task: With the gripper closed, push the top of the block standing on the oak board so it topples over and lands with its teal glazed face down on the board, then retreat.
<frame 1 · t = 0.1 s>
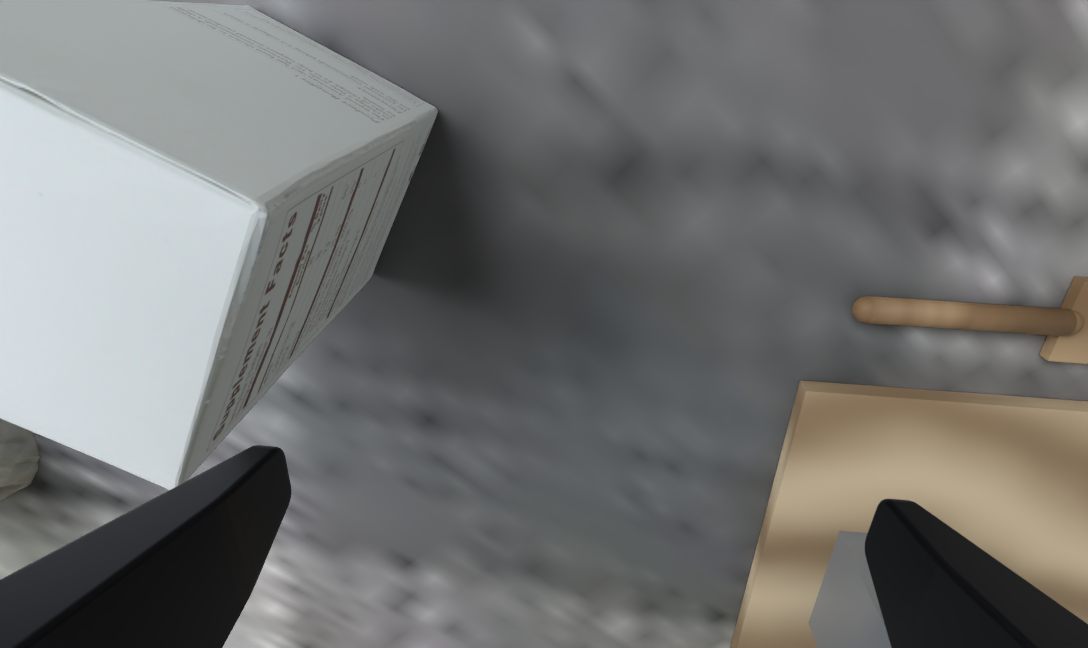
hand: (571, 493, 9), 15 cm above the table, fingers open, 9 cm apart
block: (845, 580, 28), point 1 cm above the table, touching board
supplement box: (319, 152, 22), on the table
board: (933, 559, 28), on the table
turner: (1013, 313, 22), on the table
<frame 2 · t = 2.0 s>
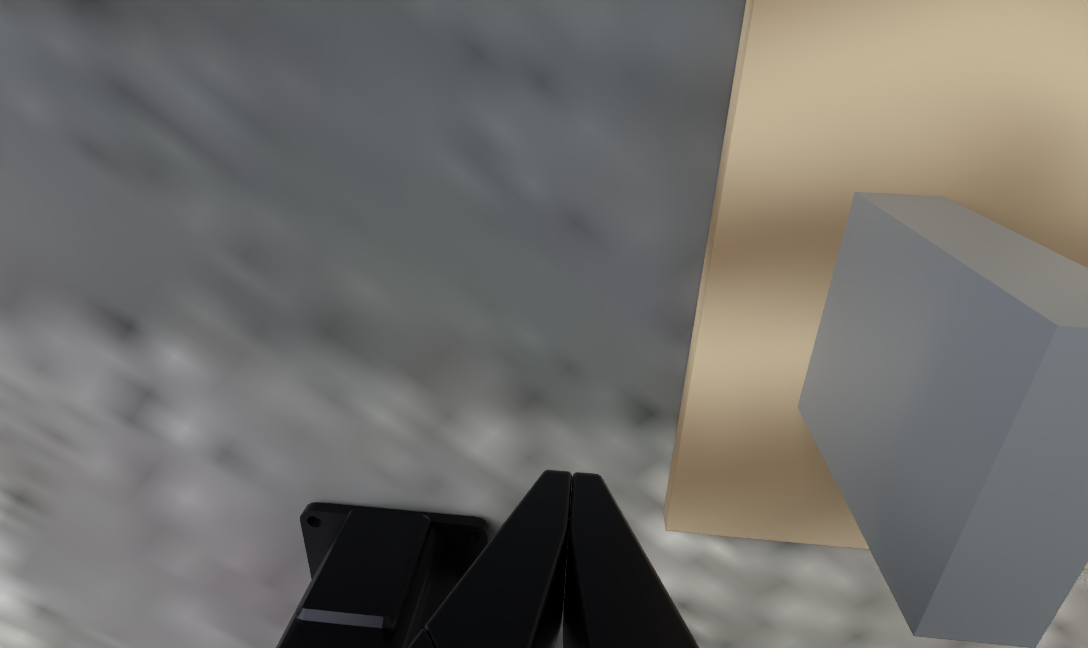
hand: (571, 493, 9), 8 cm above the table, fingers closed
block: (864, 311, 15), point 1 cm above the table, touching board
board: (1025, 273, 15), on the table
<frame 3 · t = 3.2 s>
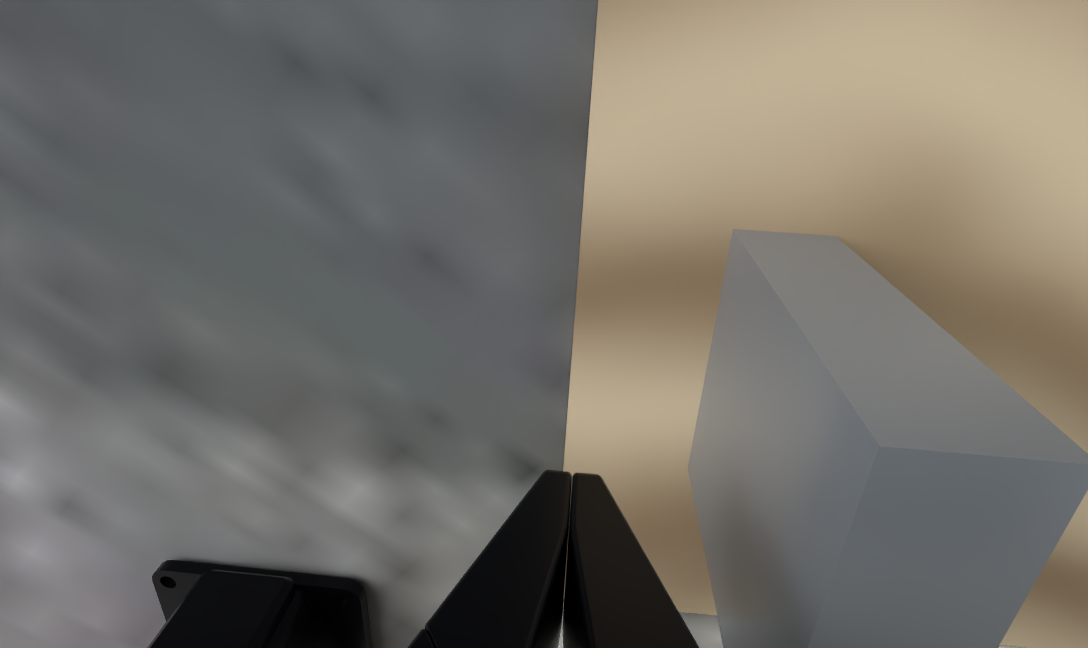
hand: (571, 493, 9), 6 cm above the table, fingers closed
block: (753, 364, 13), point 1 cm above the table, touching board
board: (938, 321, 13), on the table
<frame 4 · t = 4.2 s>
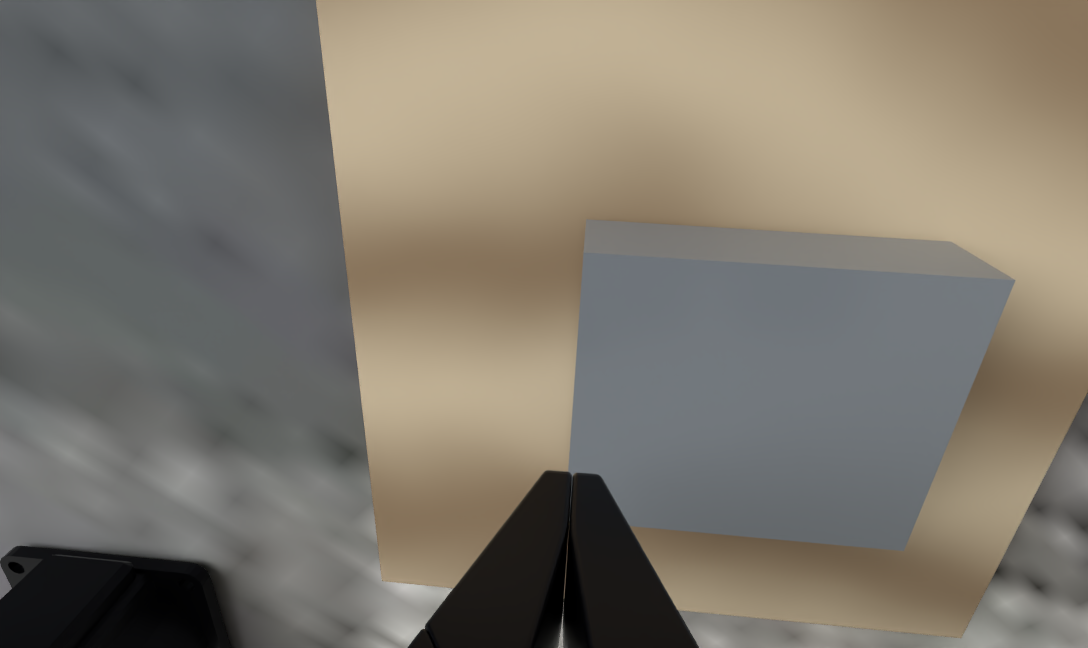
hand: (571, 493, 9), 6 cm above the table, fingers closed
block: (575, 374, 12), point 2 cm above the table, tilted 90°, touching board
board: (710, 302, 13), on the table
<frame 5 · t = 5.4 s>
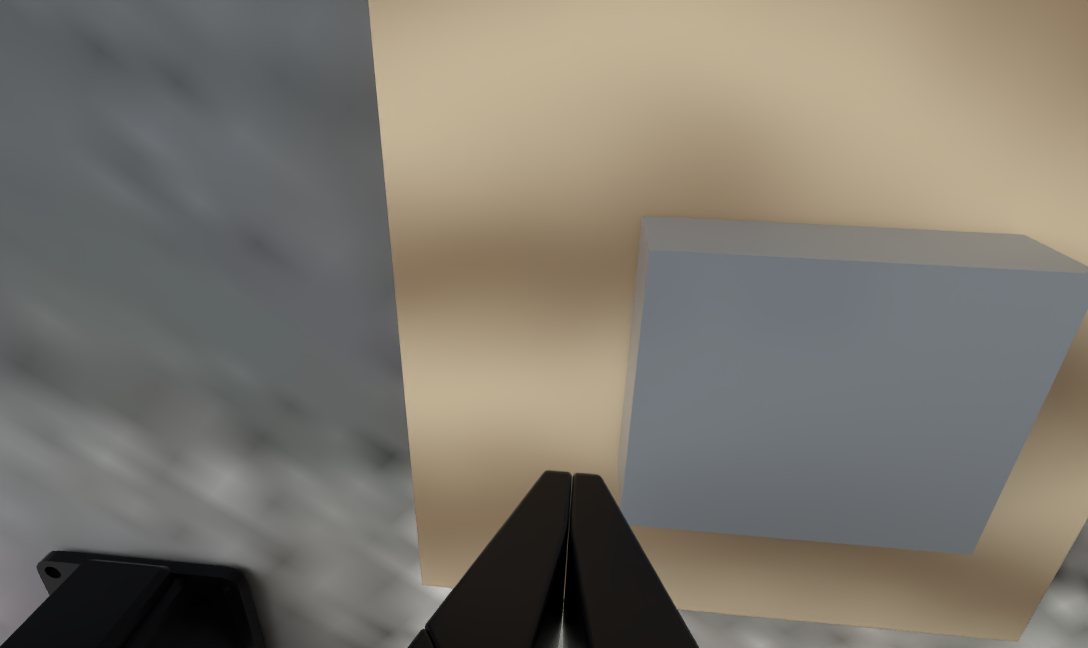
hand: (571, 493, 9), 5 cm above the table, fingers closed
block: (630, 375, 12), point 2 cm above the table, tilted 90°, touching board
board: (764, 299, 13), on the table
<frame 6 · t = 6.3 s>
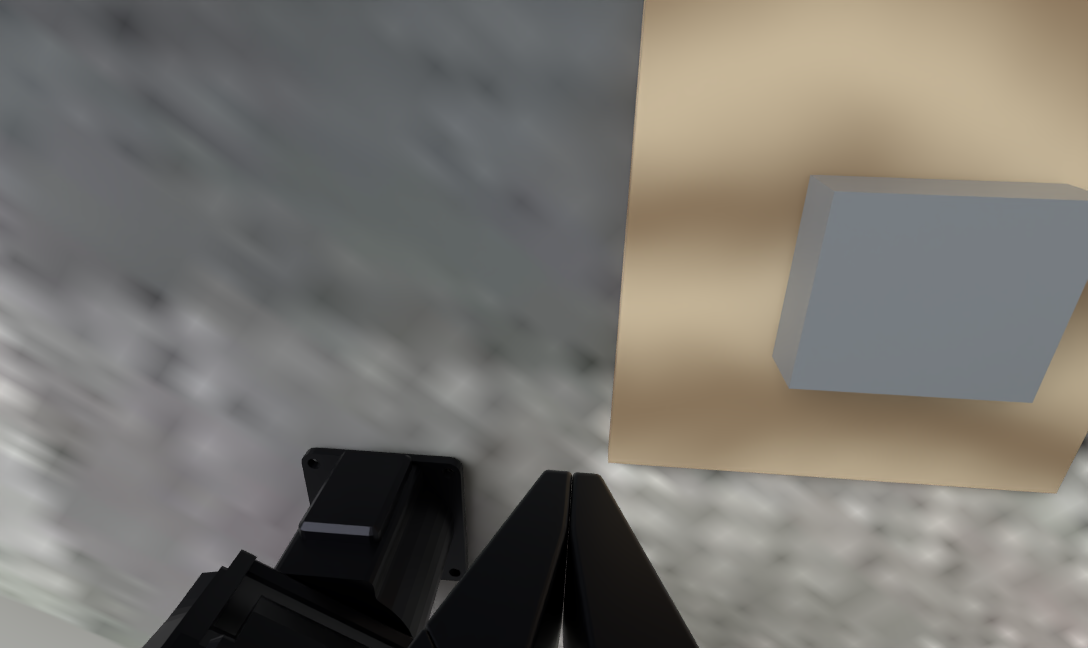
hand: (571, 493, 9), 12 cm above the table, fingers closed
block: (799, 284, 18), point 2 cm above the table, tilted 90°, touching board
board: (882, 235, 19), on the table
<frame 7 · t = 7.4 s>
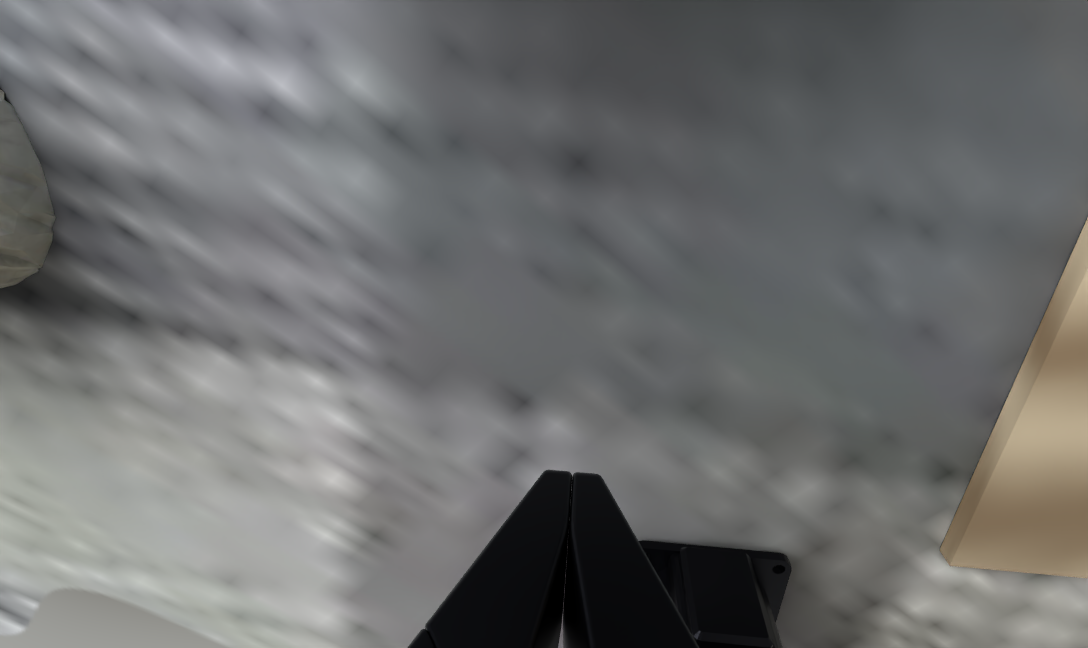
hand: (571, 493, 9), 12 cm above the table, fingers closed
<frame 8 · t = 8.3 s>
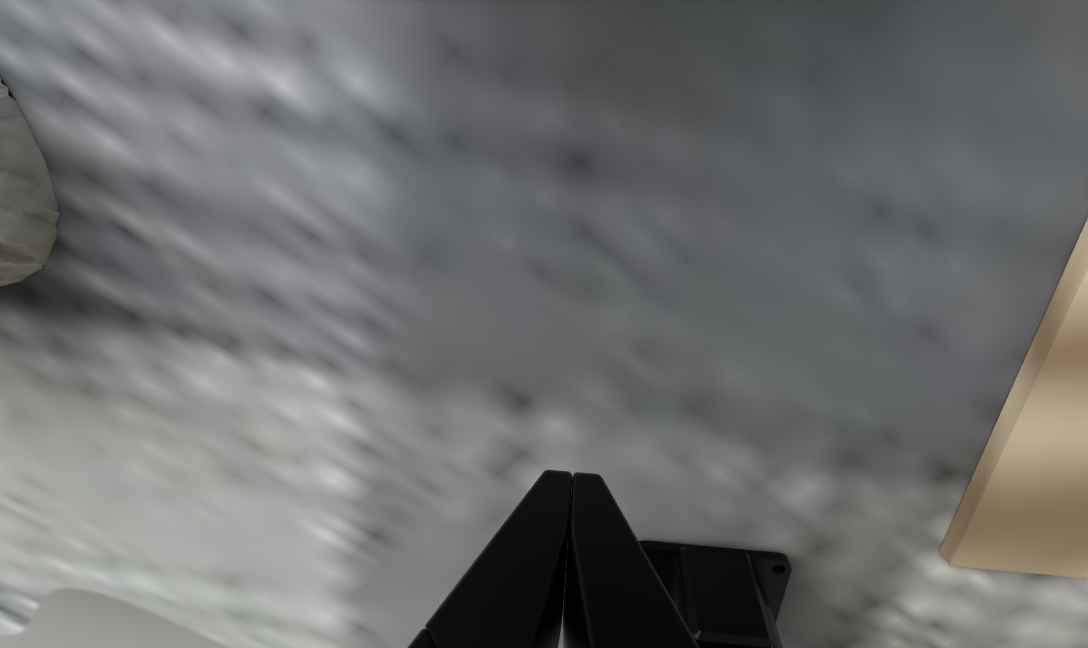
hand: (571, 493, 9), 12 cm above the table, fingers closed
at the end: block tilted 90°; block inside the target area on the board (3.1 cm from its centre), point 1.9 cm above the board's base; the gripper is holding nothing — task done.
